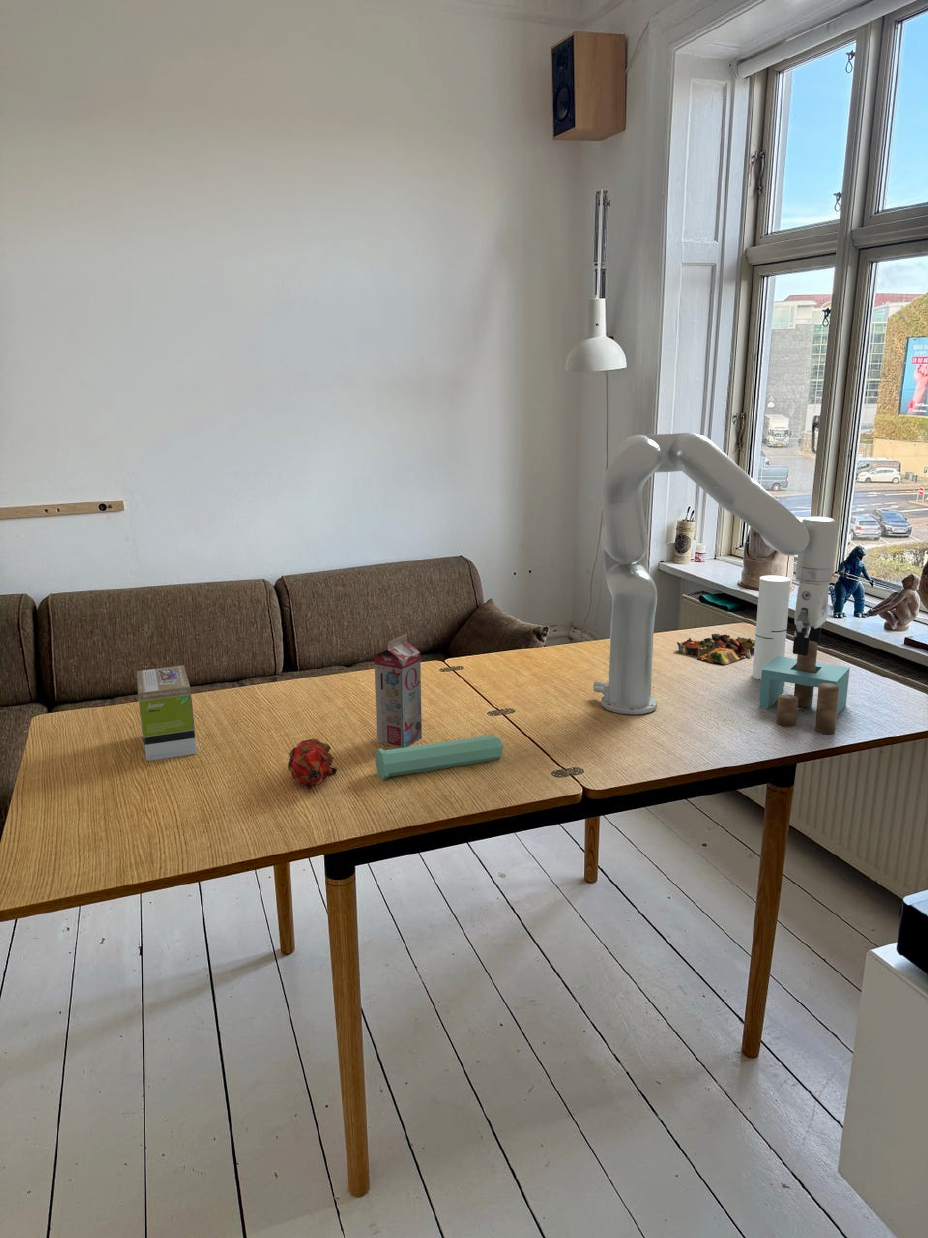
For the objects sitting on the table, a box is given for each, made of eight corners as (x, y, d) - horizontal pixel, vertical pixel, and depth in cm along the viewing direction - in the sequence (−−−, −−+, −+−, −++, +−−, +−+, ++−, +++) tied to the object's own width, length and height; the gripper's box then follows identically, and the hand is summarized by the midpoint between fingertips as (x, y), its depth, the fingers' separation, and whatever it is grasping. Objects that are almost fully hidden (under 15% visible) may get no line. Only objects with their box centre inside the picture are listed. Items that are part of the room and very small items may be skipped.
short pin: (774, 724, 199) (776, 698, 198) (779, 719, 202) (781, 693, 201) (793, 728, 197) (795, 701, 195) (798, 722, 200) (800, 696, 199)
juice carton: (421, 738, 193) (419, 636, 188) (403, 748, 188) (401, 644, 182) (395, 732, 196) (392, 632, 191) (377, 742, 191) (373, 639, 185)
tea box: (142, 736, 196) (135, 669, 192) (191, 729, 199) (185, 663, 195) (145, 762, 182) (137, 691, 178) (198, 755, 185) (192, 684, 182)
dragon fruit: (312, 774, 180) (320, 809, 169) (275, 756, 176) (280, 790, 165) (337, 740, 178) (347, 773, 168) (300, 721, 175) (307, 754, 164)
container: (498, 725, 184) (377, 742, 174) (509, 745, 179) (386, 764, 170) (492, 747, 187) (373, 765, 178) (504, 767, 183) (382, 787, 173)
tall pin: (790, 707, 209) (796, 643, 206) (795, 702, 213) (801, 639, 209) (809, 710, 207) (815, 646, 204) (813, 705, 211) (819, 642, 207)
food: (715, 639, 266) (716, 627, 265) (773, 654, 252) (774, 641, 251) (667, 654, 252) (668, 641, 251) (725, 670, 238) (727, 657, 237)
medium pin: (812, 732, 195) (815, 687, 192) (818, 726, 198) (822, 681, 195) (831, 736, 193) (835, 690, 190) (837, 730, 196) (841, 685, 193)
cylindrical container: (786, 681, 227) (794, 581, 221) (756, 681, 227) (764, 581, 221) (777, 672, 234) (785, 575, 228) (748, 672, 234) (756, 575, 228)
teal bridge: (759, 707, 210) (762, 669, 207) (774, 692, 219) (777, 656, 217) (832, 721, 201) (836, 681, 199) (845, 705, 210) (849, 667, 208)
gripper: (821, 583, 193) (813, 661, 198) (841, 569, 207) (833, 643, 212) (785, 578, 197) (777, 655, 202) (806, 565, 211) (799, 638, 216)
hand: (806, 649), depth 207 cm, fingers open, 9 cm apart
